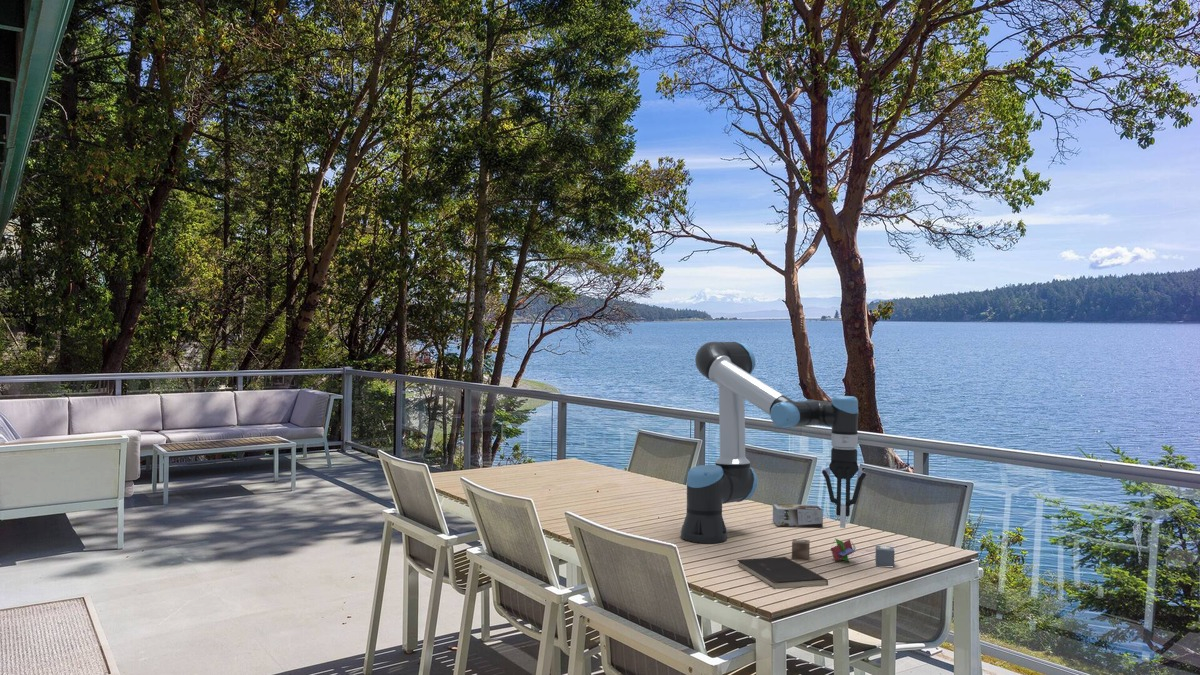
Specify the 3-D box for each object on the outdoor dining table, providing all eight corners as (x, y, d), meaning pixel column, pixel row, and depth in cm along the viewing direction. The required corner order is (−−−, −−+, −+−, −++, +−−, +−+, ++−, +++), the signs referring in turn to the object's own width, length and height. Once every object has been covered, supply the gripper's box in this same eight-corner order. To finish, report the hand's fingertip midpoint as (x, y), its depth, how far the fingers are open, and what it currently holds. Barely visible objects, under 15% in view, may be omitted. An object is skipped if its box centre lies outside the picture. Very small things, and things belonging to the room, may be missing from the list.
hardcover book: (774, 590, 224) (774, 582, 224) (737, 567, 246) (737, 559, 246) (828, 587, 228) (828, 578, 228) (787, 564, 250) (787, 556, 250)
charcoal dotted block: (876, 566, 248) (876, 548, 248) (875, 562, 253) (875, 544, 253) (894, 568, 247) (894, 550, 247) (893, 563, 252) (893, 546, 252)
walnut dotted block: (791, 559, 255) (792, 541, 255) (792, 555, 259) (792, 538, 259) (808, 560, 253) (809, 543, 253) (809, 556, 258) (809, 539, 258)
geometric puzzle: (832, 557, 248) (847, 535, 250) (820, 551, 255) (835, 529, 256) (849, 571, 250) (864, 549, 251) (837, 565, 257) (851, 543, 258)
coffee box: (776, 526, 298) (822, 527, 297) (776, 508, 298) (823, 509, 297) (772, 521, 307) (817, 522, 306) (772, 503, 307) (817, 504, 307)
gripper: (821, 448, 251) (819, 527, 251) (867, 450, 248) (866, 531, 248) (821, 445, 258) (820, 522, 258) (866, 447, 255) (865, 525, 255)
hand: (842, 526), depth 253 cm, fingers closed
